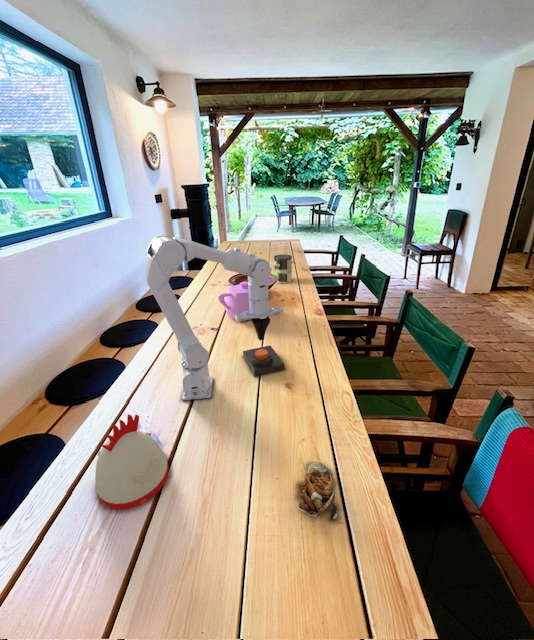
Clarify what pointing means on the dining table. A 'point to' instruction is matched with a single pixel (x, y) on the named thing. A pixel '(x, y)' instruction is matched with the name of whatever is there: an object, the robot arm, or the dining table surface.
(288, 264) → the coffee can
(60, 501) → the dining table surface
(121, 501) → the kitchen timer
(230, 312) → the teapot
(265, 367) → the switch
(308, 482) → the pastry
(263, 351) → the button
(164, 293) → the robot arm
